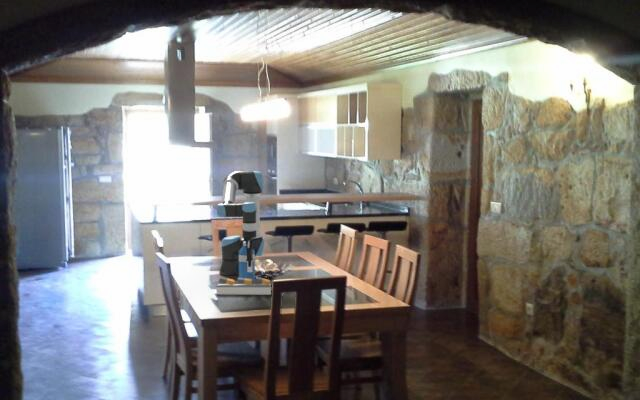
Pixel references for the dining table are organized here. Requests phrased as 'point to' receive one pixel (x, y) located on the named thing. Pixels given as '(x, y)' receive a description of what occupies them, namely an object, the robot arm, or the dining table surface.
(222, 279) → the rocker
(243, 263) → the water bottle
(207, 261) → the dining table surface
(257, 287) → the power strip
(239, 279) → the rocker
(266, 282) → the rocker
